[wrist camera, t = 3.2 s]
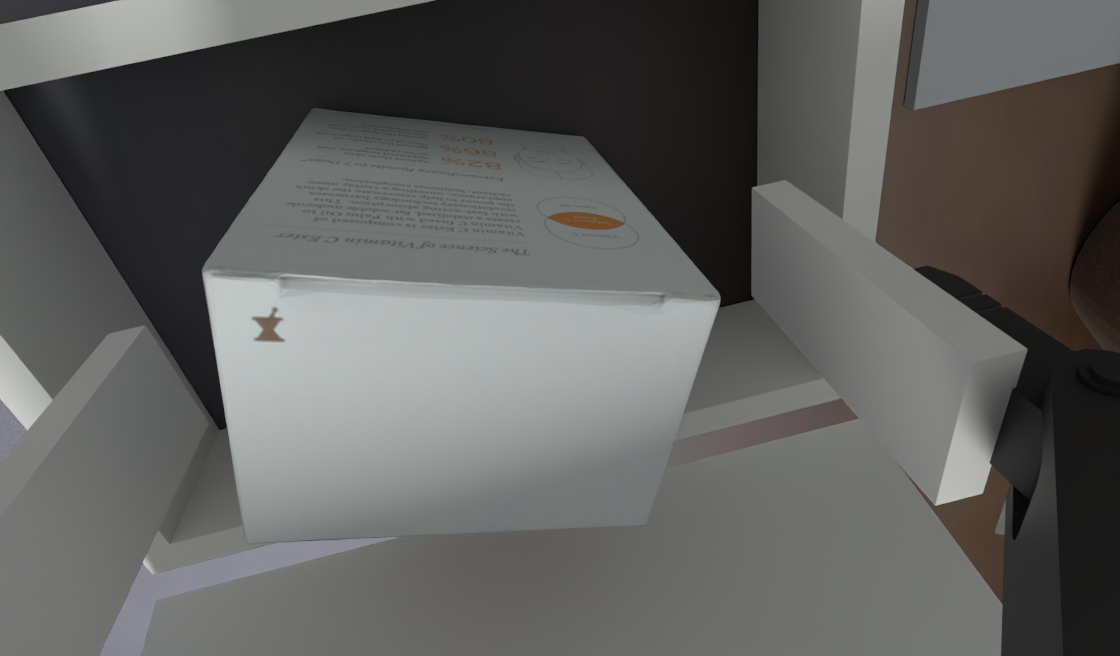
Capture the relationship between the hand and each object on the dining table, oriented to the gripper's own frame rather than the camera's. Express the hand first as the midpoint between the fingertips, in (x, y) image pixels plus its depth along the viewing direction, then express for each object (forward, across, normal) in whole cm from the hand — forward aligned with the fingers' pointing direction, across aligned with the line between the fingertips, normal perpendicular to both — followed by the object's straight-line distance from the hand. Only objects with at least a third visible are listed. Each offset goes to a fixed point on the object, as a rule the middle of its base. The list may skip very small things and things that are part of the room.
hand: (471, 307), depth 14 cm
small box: (+7, 0, 0) cm, 7 cm away
